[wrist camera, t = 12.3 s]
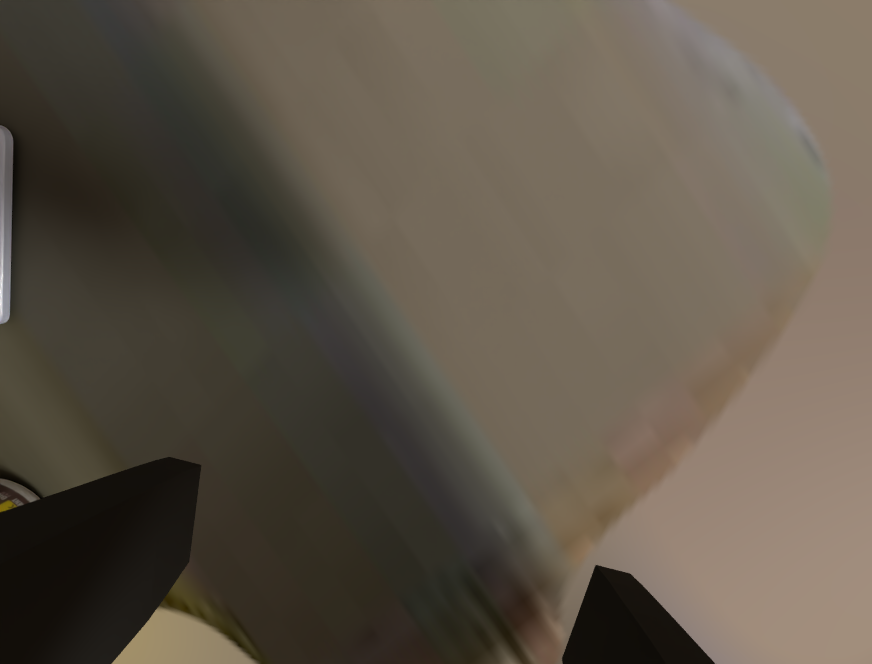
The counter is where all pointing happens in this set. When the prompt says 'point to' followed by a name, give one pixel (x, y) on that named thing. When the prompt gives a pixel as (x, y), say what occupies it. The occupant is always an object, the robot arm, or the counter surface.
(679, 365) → the counter surface
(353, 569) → the counter surface
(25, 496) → the supplement bottle
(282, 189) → the counter surface
